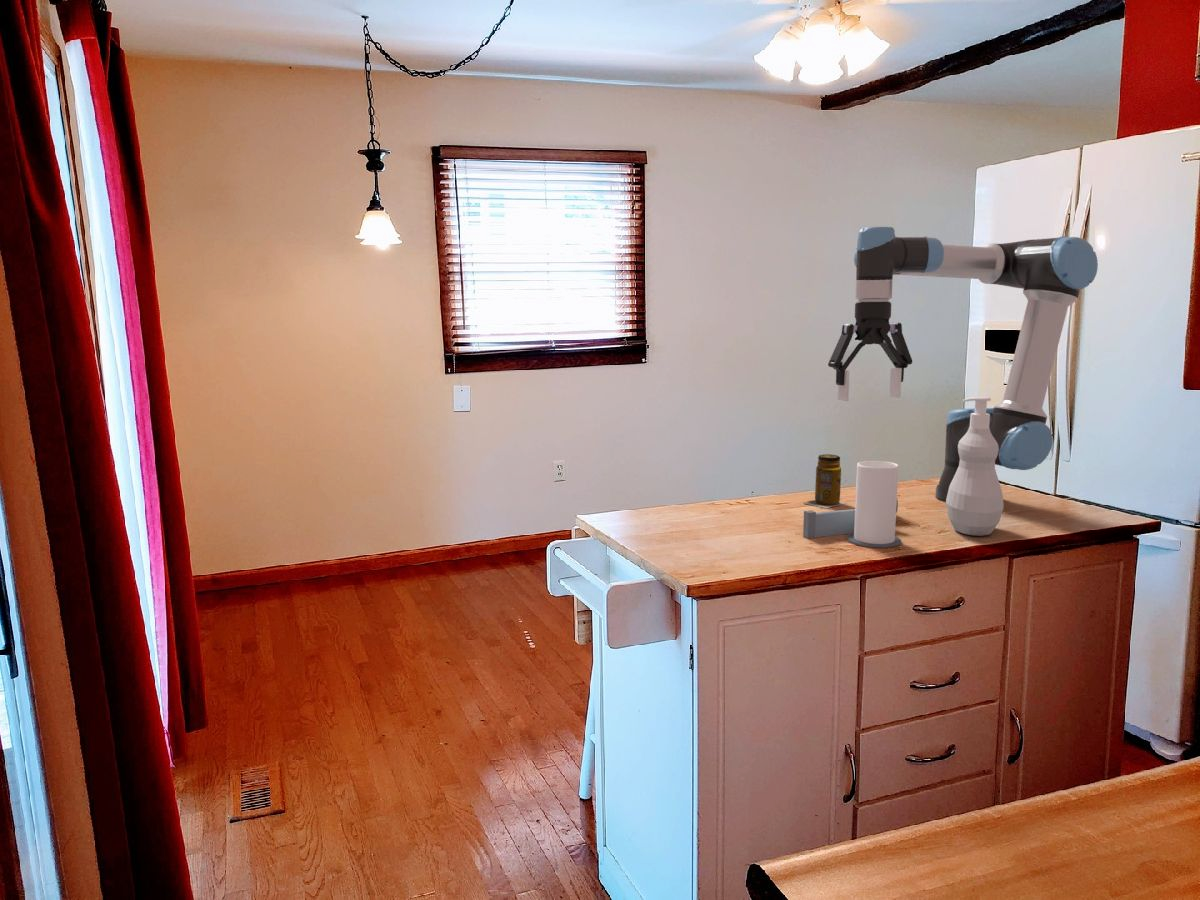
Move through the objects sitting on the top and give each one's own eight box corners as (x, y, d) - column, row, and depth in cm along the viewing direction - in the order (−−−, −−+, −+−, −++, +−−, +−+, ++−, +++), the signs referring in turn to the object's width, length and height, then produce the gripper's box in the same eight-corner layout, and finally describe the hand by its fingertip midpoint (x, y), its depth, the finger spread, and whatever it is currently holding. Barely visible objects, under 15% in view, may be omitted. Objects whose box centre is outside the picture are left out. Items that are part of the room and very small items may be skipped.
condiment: (846, 503, 222) (848, 455, 220) (828, 508, 217) (830, 460, 215) (821, 498, 228) (823, 452, 226) (802, 504, 222) (804, 456, 220)
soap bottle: (941, 520, 205) (948, 392, 200) (995, 523, 202) (1004, 393, 197) (947, 539, 189) (956, 401, 184) (1007, 543, 186) (1017, 402, 181)
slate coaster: (879, 531, 195) (879, 530, 195) (912, 544, 185) (912, 542, 185) (836, 536, 191) (836, 534, 191) (868, 550, 181) (868, 548, 181)
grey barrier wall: (887, 526, 199) (888, 502, 198) (892, 528, 198) (893, 504, 197) (803, 536, 192) (803, 511, 191) (807, 538, 190) (808, 512, 189)
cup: (880, 546, 182) (884, 469, 180) (846, 538, 188) (849, 464, 186) (902, 539, 188) (906, 464, 185) (867, 531, 194) (871, 459, 191)
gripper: (909, 299, 200) (904, 394, 204) (813, 301, 192) (810, 399, 195) (932, 300, 193) (927, 397, 197) (834, 301, 185) (831, 403, 188)
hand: (869, 398), depth 196 cm, fingers open, 13 cm apart
